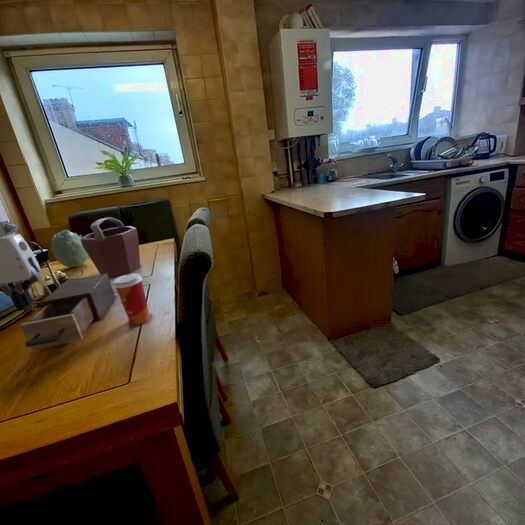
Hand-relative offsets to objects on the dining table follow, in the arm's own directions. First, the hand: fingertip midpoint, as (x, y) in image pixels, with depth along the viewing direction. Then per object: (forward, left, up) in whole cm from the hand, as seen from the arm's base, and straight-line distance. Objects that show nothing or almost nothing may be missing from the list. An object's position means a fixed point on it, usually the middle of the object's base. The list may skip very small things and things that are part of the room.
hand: (26, 307), depth 66 cm
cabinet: (0, +25, -15) cm, 29 cm away
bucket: (0, +66, -15) cm, 68 cm away
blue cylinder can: (0, +11, -13) cm, 17 cm away
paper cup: (+20, +11, -15) cm, 27 cm away
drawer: (0, +10, -14) cm, 17 cm away
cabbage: (-27, +87, -15) cm, 93 cm away
